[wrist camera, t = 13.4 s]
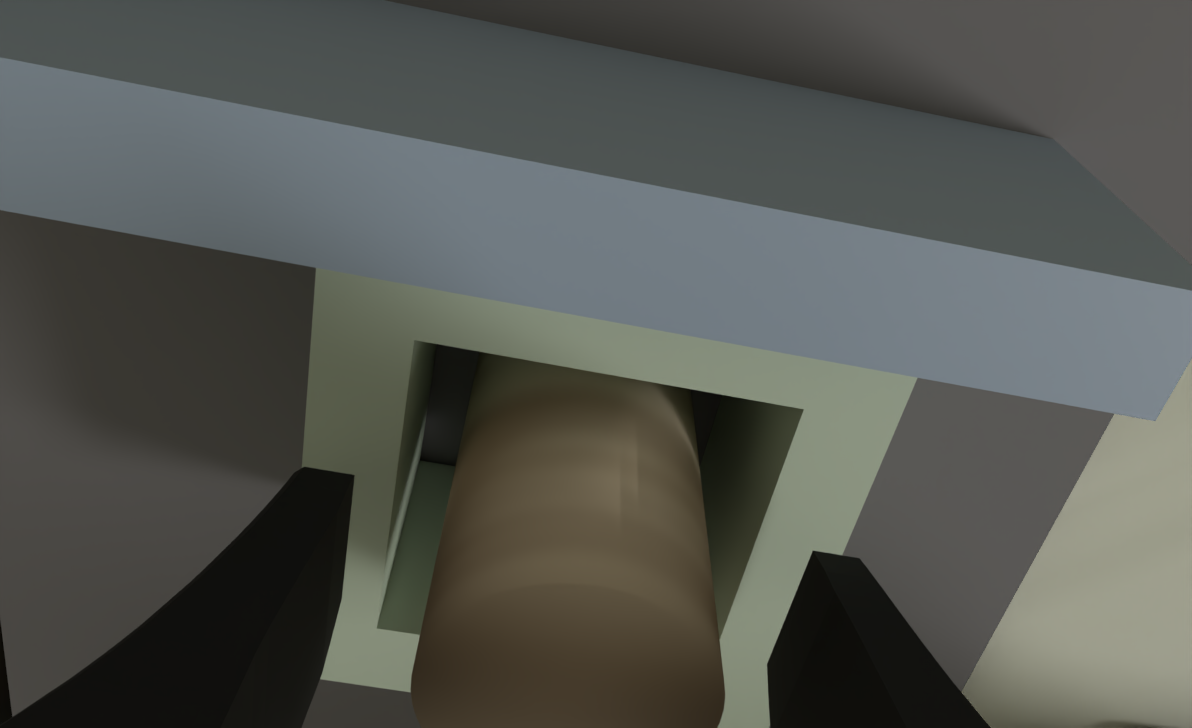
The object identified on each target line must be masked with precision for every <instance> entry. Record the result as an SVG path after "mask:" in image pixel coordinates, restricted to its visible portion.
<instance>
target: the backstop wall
mask: <svg viewBox="0 0 1192 728" xmlns="http://www.w3.org/2000/svg"><path fill="white" fill-rule="evenodd" d="M0 210H3V211H8V212H14V213H19V214H25V215H30V216H36V217H41V218H46V219H52V220H57V221H63V222H68V223H74V224H79V225H85V226H90V227H96V228H101V229H107V230H112V231H118V232H123V233H129V234H134V235H140V236H145V237H150V238H156V239H161V240H167V241H172V242H178V243H183V244H189V245H194V246H200V247H205V248H211V249H216V250H222V251H227V252H233V253H238V254H243V255H249V256H254V257H260V258H265V259H271V260H276V261H282V262H287V263H293V264H298V265H304V266H309V267H315V268H320V269H326V270H331V271H337V272H342V273H347V274H353V275H358V276H364V277H369V278H375V279H380V280H386V281H391V282H397V283H402V284H408V285H413V286H419V287H424V288H430V289H435V290H441V291H446V292H451V293H457V294H462V295H468V296H473V297H479V298H484V299H490V300H495V301H501V302H506V303H512V304H517V305H523V306H528V307H534V308H539V309H545V310H550V311H555V312H561V313H566V314H572V315H577V316H583V317H588V318H594V319H599V320H605V321H610V322H616V323H621V324H627V325H632V326H638V327H643V328H649V329H654V330H659V331H665V332H670V333H676V334H681V335H687V336H692V337H698V338H703V339H709V340H714V341H720V342H725V343H731V344H736V345H742V346H747V347H753V348H758V349H763V350H769V351H774V352H780V353H785V354H791V355H796V356H802V357H807V358H813V359H818V360H824V361H829V362H835V363H840V364H846V365H851V366H856V367H862V368H867V369H873V370H878V371H884V372H889V373H895V374H900V375H906V376H911V377H917V378H922V379H928V380H933V381H939V382H944V383H950V384H955V385H960V386H966V387H971V388H977V389H982V390H988V391H993V392H999V393H1004V394H1010V395H1015V396H1021V397H1026V398H1032V399H1037V400H1043V401H1048V402H1054V403H1059V404H1064V405H1070V406H1075V407H1081V408H1086V409H1092V410H1097V411H1103V412H1108V413H1114V414H1119V415H1125V416H1130V417H1136V418H1141V419H1147V420H1152V421H1156V419H1157V417H1158V416H1159V414H1160V412H1161V410H1162V409H1163V407H1164V405H1165V403H1166V402H1167V400H1168V398H1169V397H1170V395H1171V393H1172V391H1173V390H1174V388H1175V386H1176V384H1177V383H1178V381H1179V379H1180V378H1181V376H1182V374H1183V372H1184V371H1185V369H1186V367H1187V365H1188V364H1189V362H1190V360H1191V358H1192V265H1191V264H1189V263H1188V262H1187V261H1186V260H1185V259H1184V258H1183V257H1182V256H1181V255H1180V254H1178V253H1177V252H1176V251H1175V250H1174V249H1173V248H1172V247H1171V246H1170V245H1169V244H1168V243H1166V242H1165V241H1164V240H1163V239H1162V238H1161V237H1160V236H1159V235H1158V234H1157V233H1156V232H1154V231H1153V230H1152V229H1151V228H1150V227H1149V226H1148V225H1147V224H1146V223H1145V222H1144V221H1142V220H1141V219H1140V218H1139V217H1138V216H1137V215H1136V214H1135V213H1134V212H1133V211H1132V210H1130V209H1129V208H1128V207H1127V206H1126V205H1125V204H1124V203H1123V202H1122V201H1121V200H1120V199H1118V198H1117V197H1116V196H1115V195H1114V194H1113V193H1112V192H1111V191H1110V190H1109V189H1107V188H1106V187H1105V186H1104V185H1103V184H1102V183H1101V182H1100V181H1099V180H1098V179H1097V178H1095V177H1094V176H1093V175H1092V174H1091V173H1090V172H1089V171H1088V170H1087V169H1086V168H1085V167H1083V166H1082V165H1081V164H1080V163H1079V162H1078V161H1077V160H1076V159H1075V158H1074V157H1073V156H1071V155H1070V154H1069V153H1068V152H1067V151H1066V150H1065V149H1064V148H1063V147H1062V146H1061V145H1059V144H1058V143H1057V142H1056V141H1055V140H1054V139H1050V138H1045V137H1040V136H1035V135H1030V134H1026V133H1021V132H1016V131H1011V130H1006V129H1002V128H997V127H992V126H987V125H982V124H978V123H973V122H968V121H963V120H958V119H953V118H949V117H944V116H939V115H934V114H929V113H925V112H920V111H915V110H910V109H905V108H901V107H896V106H891V105H886V104H881V103H876V102H872V101H867V100H862V99H857V98H852V97H848V96H843V95H838V94H833V93H828V92H824V91H819V90H814V89H809V88H804V87H799V86H795V85H790V84H785V83H780V82H775V81H771V80H766V79H761V78H756V77H751V76H746V75H742V74H737V73H732V72H727V71H722V70H718V69H713V68H708V67H703V66H698V65H694V64H689V63H684V62H679V61H674V60H669V59H665V58H660V57H655V56H650V55H645V54H641V53H636V52H631V51H626V50H621V49H617V48H612V47H607V46H602V45H597V44H592V43H588V42H583V41H578V40H573V39H568V38H564V37H559V36H554V35H549V34H544V33H540V32H535V31H530V30H525V29H520V28H515V27H511V26H506V25H501V24H496V23H491V22H487V21H482V20H477V19H472V18H467V17H463V16H458V15H453V14H448V13H443V12H438V11H434V10H429V9H424V8H419V7H414V6H410V5H405V4H400V3H395V2H390V1H386V0H0Z"/></svg>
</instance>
